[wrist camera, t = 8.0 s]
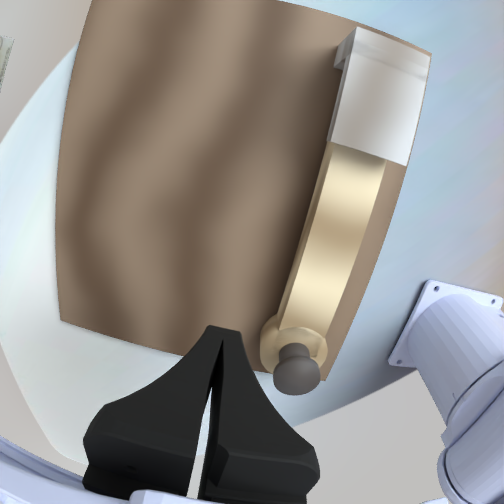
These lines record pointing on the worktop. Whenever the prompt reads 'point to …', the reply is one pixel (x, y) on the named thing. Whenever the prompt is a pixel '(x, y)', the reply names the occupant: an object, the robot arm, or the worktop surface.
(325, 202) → the link
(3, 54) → the coffee box
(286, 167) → the base board
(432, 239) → the worktop surface
